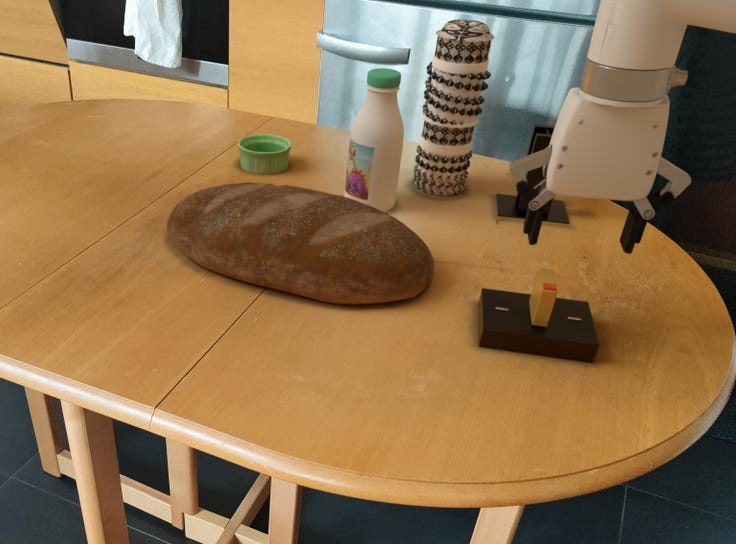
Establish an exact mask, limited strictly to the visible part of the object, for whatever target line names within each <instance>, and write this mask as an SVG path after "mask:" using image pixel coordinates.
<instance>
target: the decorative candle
mask: <svg viewBox="0 0 736 544" xmlns="http://www.w3.org/2000/svg"><path fill="white" fill-rule="evenodd" d="M435 35H436V36H437V37H436V38H437V39H436V44H435V51H434V53H433V55H432V61H430V62H429V64H428V65H427V66H426V74H427V75H429V76H428V77H427V79H426V80H425V81H424V84H425V90H424V91H423V98H424V99H425V101H424V103H423V105H422V114H421V118H422V119H423V127H422V133H421V134H420V137H419V144H418V145H417V146H416V153H417V155H416V156H415V159H414V162H415V163H416V164H415V165H414V166H413V169H412V170H413V171H412V173H413V175H412V177H411V183H412V185H413V186H414V187H415V188H416V189H417V190H418V191H422V193H427V194H430V195H432V196H435V195H436V196H440V197H443V196H447V197H448V196H449V197H450V196H451V195H458V194H459V193H461V192H463V191H464V190H465V188H466V187H467V185H466V184H467V181H466V180H467V179H468V178H469V171H468V169H469V168H470V167H471V161H470V159H471V158H472V157H473V150H472V148H473V147H472V146H473V141H474V138H473V134H474V130H475V126H476V125H478V124H479V121H480V116H478V115H481V114H482V113H483V109H482V108H481V107H480V105H482V104H483V103H485V101H486V99H485V98H484V97H483V96H482V95H481V92H484V91H486V90H488V89H489V84H488V83H487V82H486V80H489V79H490V78H491V76H492V73H491V72H489V70H488V68H489V63H490V58H489V55H490V52H491V45H492V41H493V40H494V39H495V35H494V34H492V33H491V31H490V28H489V26H488V25H487V24H486V23H485V22H483V21H480V20H474V19H465V18H464V19H462V18H461V19H452V20H448V21H447V22H446V23H445V24H444V25H443V27H441V29H440V30H439V29H438V30H437V31H436V32H435Z"/></svg>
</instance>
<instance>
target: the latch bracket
mask: <svg viewBox="0 0 736 544" xmlns="http://www.w3.org/2000/svg"><path fill="white" fill-rule="evenodd" d="M554 128H555V125H548V124H536V123H535V124H533V127H532V131H531V132H532V133H531V135H530V140H529V144H528V148H527V152H526V156H528V155H530V154H533V153H536V152H538V151H541V150H544V149H546V148H549V144H550V141H551V138H552V135H550V134H542V133H543V132H544V131H545V130H546V129H548V130H549V131H550V132H552V133H553V131H554ZM525 176H526V179H527V180H528V182H529V183H530V184H531V185H532V187H533V188H534V187H535V186H536V185H538V184H539V183H540V182H541V181H543V180H544V179H545V177H543V166H541V167H539V168H536V169H533V170H530V171H528V172H527V173H526V175H525ZM495 196H496V197H495V198H496V209H497V210H496V212H497V217H501V218H510V219H520V220H525V217H526V213H527V209H528V204H527V203H526V202H525V201H524V199H523V198H522V197H521V196H520V194H519V193H518V192H517V191H516V195H514V194H506V193H505V194H503V193H496V195H495ZM543 209H544V216H543V220H542V222H547V223H555V224H562V225H563V224H565V225H569V224H570V221H569V217H568V212H567V210H566V209H567V208H566V205H565V202H564V200H560V199H554V197H553V198H552V199H551V200H549V201H548V202H547V203H546V204H544V205H543Z"/></svg>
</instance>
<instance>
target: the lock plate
mask: <svg viewBox="0 0 736 544" xmlns="http://www.w3.org/2000/svg"><path fill="white" fill-rule="evenodd" d="M530 297H531V293H525V292H517V291H509V290H500V289H493V288H485V287H482V288H481V291H480V295H479V299H478V300H479V301H478V303H477V321H478V322H477V323H478V324H477V325H478V326H477V327H478V333H477V334H478V348H483V349H491V350H496V351H497V350H498V351H504V352H505V351H506V352H510V353H511V352H512V353H516V354H517V353H518V354H525V355H531V356H539V357H544V358H545V357H547V358H551V359H552V358H553V359H559V360H565V361H574V362H581V363H587V364H593V363H594V361H595V359H596V355H597V352H598V350H599V347H600V342H599V338H598V335H597V330H596V327H595V321H594V317H593V314H592V311H591V307H590V303H589V301H586V300H585V301H584V300H577V299H571V298H562V297H556V299H555V303H554V306H553V309H552V312H551V315H550V318H549V322H548V325H547V327H543V326H535V325H532V321H531V313H530V305H529V300H530Z"/></svg>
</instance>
